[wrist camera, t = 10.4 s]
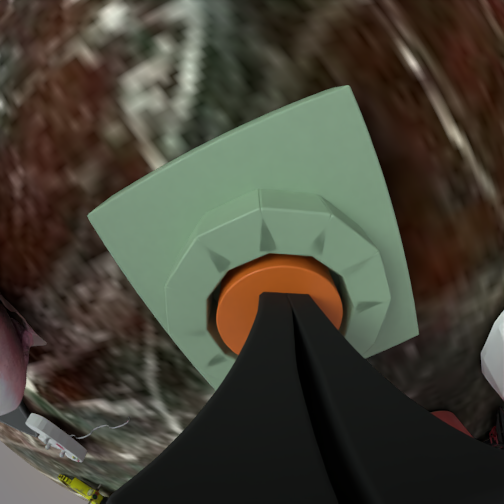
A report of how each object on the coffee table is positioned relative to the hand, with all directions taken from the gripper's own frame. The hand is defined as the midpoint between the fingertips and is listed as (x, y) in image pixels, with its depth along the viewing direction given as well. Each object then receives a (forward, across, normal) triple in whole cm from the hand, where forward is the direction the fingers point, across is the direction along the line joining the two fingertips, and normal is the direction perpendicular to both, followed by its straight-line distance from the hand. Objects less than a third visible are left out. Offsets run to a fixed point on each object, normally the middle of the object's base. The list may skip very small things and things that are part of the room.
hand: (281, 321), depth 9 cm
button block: (+4, 0, 0) cm, 4 cm away
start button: (+2, 0, 0) cm, 2 cm away
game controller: (+4, +13, +16) cm, 21 cm away
